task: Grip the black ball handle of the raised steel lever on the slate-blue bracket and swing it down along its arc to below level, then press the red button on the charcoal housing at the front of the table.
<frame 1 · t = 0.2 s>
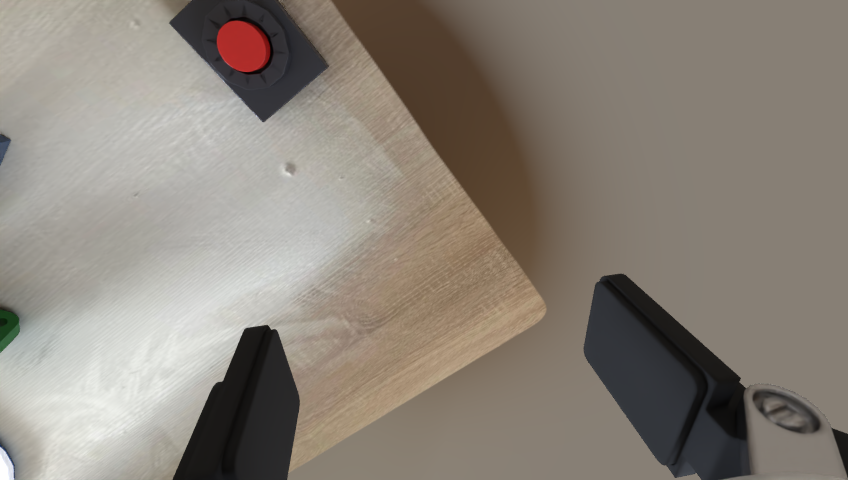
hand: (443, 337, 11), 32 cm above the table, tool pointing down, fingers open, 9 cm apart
button box: (258, 46, 34), on the table
button: (244, 46, 30), point 4 cm above the table, slide at 0.1 cm
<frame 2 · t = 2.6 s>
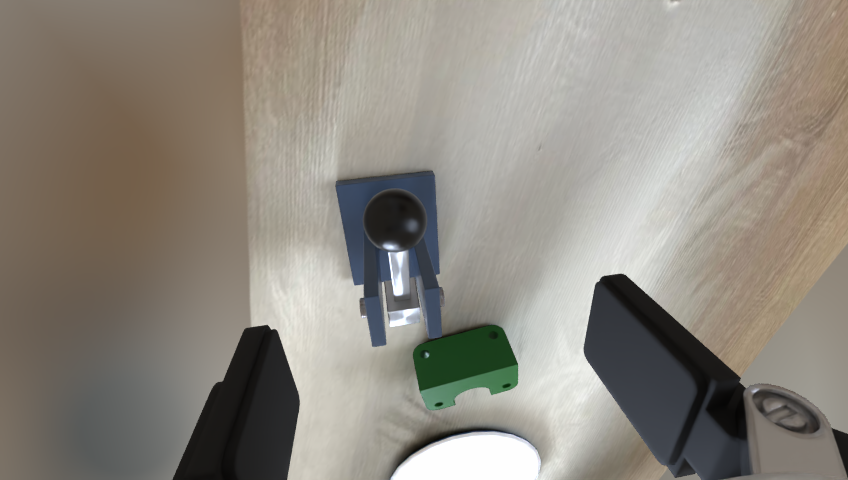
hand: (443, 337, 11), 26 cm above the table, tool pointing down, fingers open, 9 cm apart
bracket: (391, 228, 38), on the table
lever: (399, 268, 23), point 14 cm above the table, hinge at 28.0°
green mounting block: (459, 350, 47), on the table
plate: (463, 474, 61), on the table
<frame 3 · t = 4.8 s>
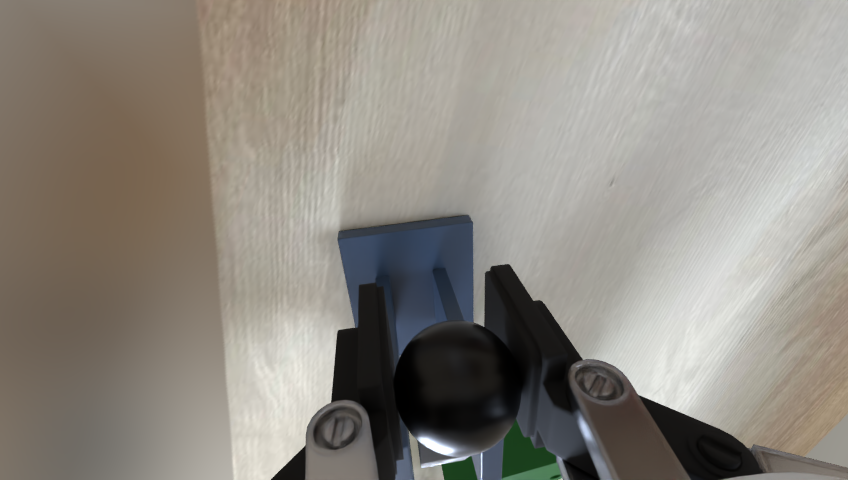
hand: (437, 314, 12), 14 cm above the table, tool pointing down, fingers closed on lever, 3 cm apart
bracket: (411, 287, 28), on the table
lever: (446, 415, 14), point 14 cm above the table, hinge at 28.0°, touching gripper
green mounting block: (492, 426, 38), on the table
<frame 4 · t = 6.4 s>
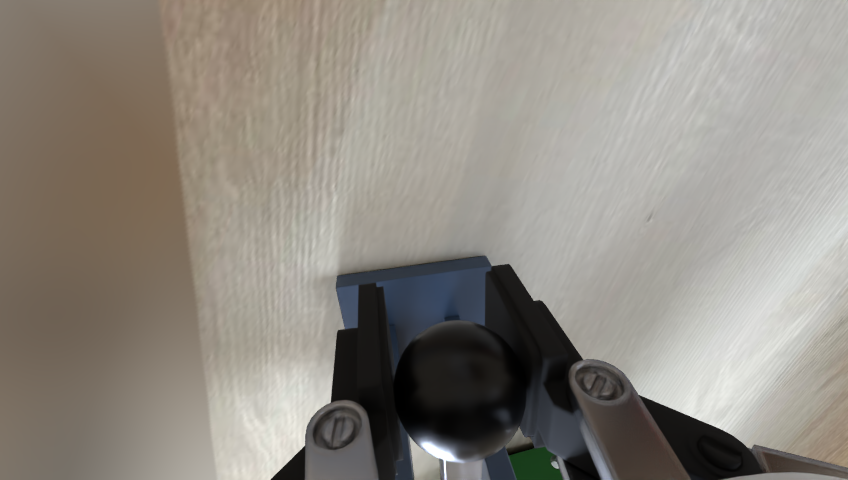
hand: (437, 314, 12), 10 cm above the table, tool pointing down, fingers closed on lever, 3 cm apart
bracket: (419, 334, 25), on the table
green mounting block: (505, 470, 35), on the table
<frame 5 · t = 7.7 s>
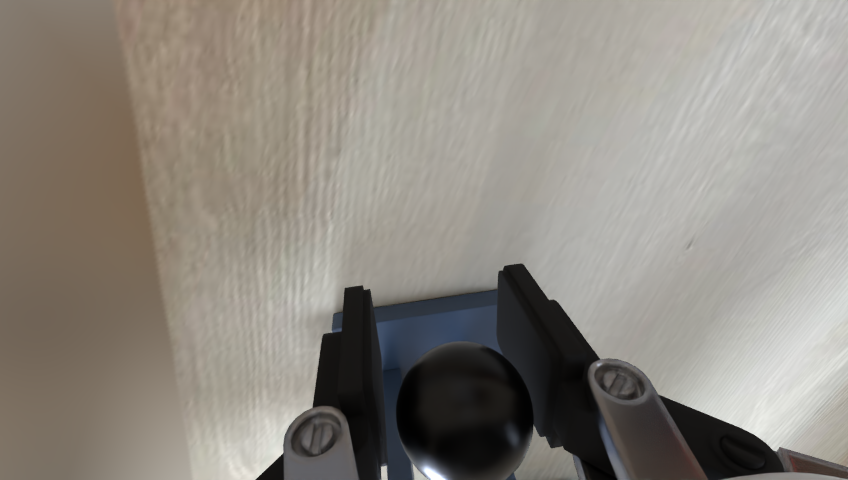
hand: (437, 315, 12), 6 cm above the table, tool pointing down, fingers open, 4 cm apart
bracket: (427, 374, 22), on the table
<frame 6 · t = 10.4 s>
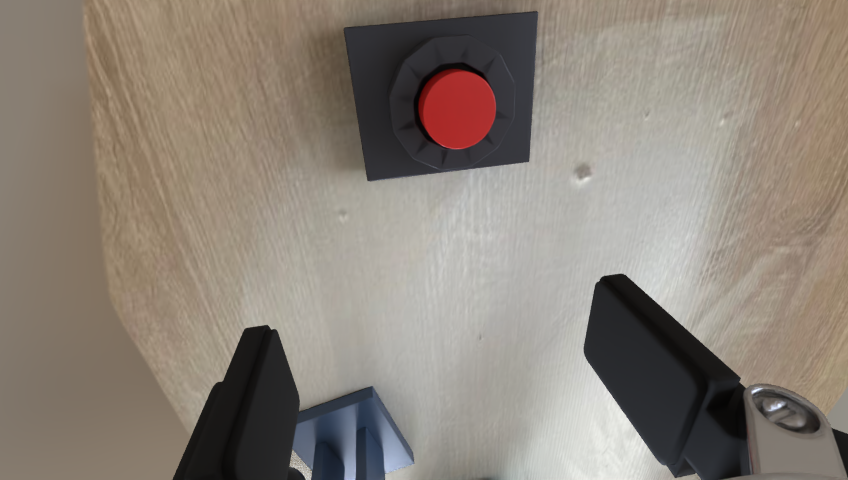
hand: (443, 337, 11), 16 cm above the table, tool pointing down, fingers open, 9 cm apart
button box: (439, 97, 23), on the table
bracket: (350, 436, 36), on the table
button: (456, 109, 19), point 4 cm above the table, slide at 0.1 cm
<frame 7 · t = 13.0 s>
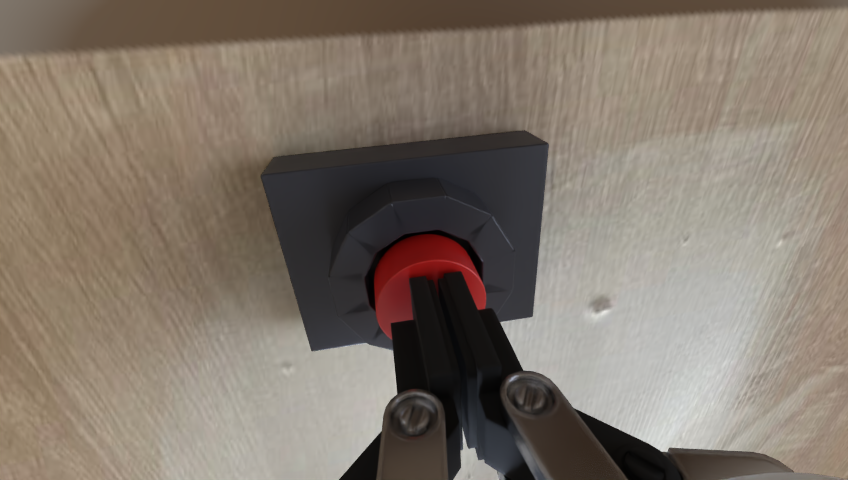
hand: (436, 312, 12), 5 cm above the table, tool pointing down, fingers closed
button box: (412, 232, 17), on the table
button: (427, 291, 13), point 4 cm above the table, slide at 0.1 cm, touching gripper
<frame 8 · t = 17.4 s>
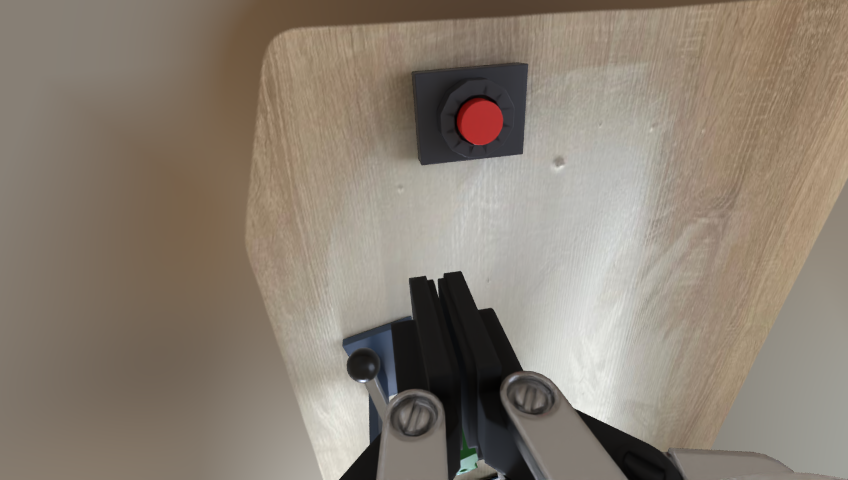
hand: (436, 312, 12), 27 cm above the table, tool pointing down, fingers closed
button box: (466, 112, 36), on the table
bracket: (392, 357, 49), on the table
lever: (382, 404, 37), point 11 cm above the table, hinge at -12.4°
button: (479, 121, 32), point 4 cm above the table, slide at 0.1 cm
green mounting block: (473, 421, 58), on the table
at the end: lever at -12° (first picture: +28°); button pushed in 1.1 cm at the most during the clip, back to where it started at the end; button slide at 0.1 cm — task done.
